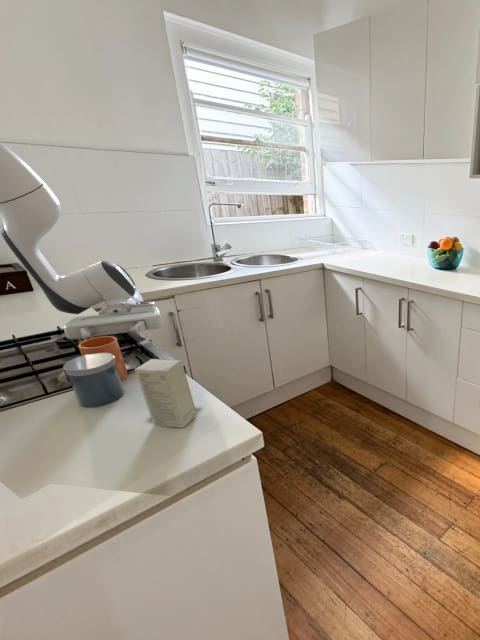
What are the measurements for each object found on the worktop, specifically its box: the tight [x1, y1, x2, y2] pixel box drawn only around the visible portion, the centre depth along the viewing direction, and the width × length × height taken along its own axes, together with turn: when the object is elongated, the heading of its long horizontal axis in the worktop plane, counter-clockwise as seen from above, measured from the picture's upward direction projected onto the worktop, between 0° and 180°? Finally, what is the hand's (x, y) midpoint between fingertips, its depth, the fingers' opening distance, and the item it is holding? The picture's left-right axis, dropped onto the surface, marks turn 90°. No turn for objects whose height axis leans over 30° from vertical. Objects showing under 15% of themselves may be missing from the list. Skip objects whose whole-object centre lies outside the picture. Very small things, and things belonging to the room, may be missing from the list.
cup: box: [78, 335, 129, 381], centre depth 85 cm, size 7×7×9 cm
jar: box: [62, 353, 125, 408], centre depth 77 cm, size 8×8×8 cm
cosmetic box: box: [134, 358, 198, 428], centre depth 70 cm, size 6×4×12 cm
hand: (111, 334), depth 93 cm, fingers open, 8 cm apart
